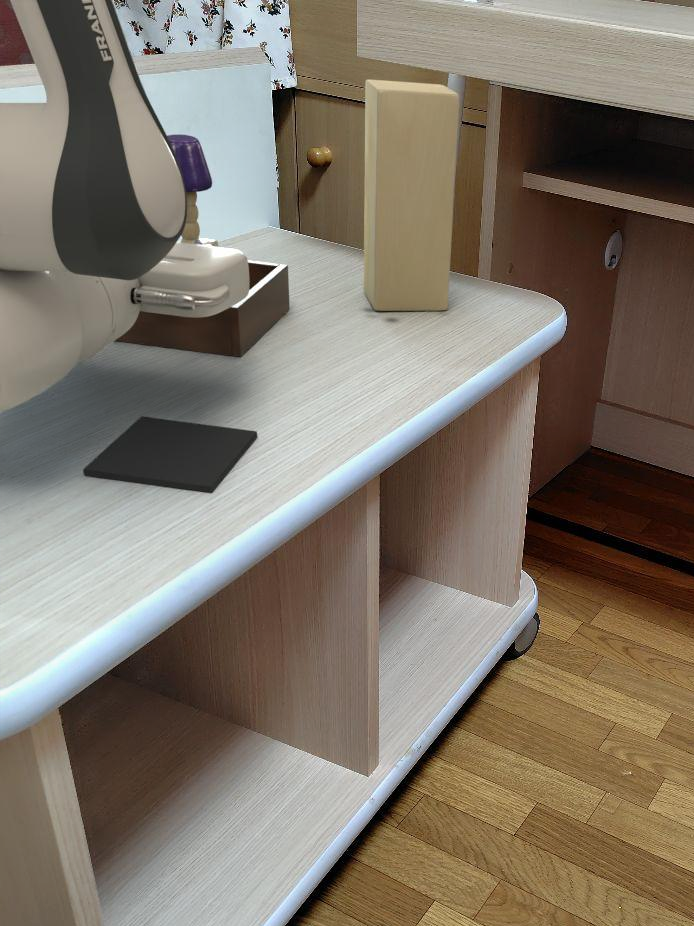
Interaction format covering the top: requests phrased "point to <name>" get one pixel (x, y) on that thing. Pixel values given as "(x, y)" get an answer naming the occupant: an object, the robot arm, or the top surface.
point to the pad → (172, 454)
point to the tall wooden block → (409, 194)
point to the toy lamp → (191, 179)
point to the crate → (221, 318)
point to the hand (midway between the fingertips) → (155, 241)
